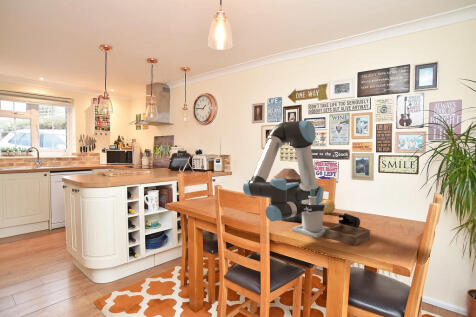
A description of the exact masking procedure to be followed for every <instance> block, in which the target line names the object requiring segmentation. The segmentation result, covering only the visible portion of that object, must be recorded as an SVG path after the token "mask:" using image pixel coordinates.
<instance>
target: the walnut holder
mask: <svg viewBox="0 0 476 317" xmlns="http://www.w3.org/2000/svg"><path fill="white" fill-rule="evenodd" d="M324 238H327V239H331V240H333V241H338V242H340V243H344V244H347V245H350V246H354V247H356V246H358V245H360V244H362V243H364V242H366V241H368V240H370V239H371V230H367V229H363V228H360V227H357V228H356V227H351V226H347V225H343V224H340V223H338V224H336V225H333V226H331V227H328V229H325V235H324Z"/></svg>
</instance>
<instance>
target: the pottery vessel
mask: <svg viewBox="0 0 476 317" xmlns="http://www.w3.org/2000/svg"><path fill="white" fill-rule="evenodd" d="M274 178H281V179H285V180H286V182H287V183H295V182H297V183H299V185H300V183H301V178H300V173H299V172H297V171H296V170H295V169H294V168H283V169H282V170H280V171H279V172H278V173H276V175H273V179H274Z"/></svg>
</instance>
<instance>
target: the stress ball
mask: <svg viewBox="0 0 476 317" xmlns="http://www.w3.org/2000/svg"><path fill="white" fill-rule="evenodd" d="M321 203H327V208H324V211H322V213H324V214H326V215H330V214H331V213H333V212H335V209H336V204H335V203H334V201H333V200H331V199H325V198H324V199H322V202H321Z"/></svg>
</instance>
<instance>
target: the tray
mask: <svg viewBox="0 0 476 317" xmlns="http://www.w3.org/2000/svg"><path fill="white" fill-rule="evenodd" d="M328 228H329V227H328V226H324V225H323V229H322V231H321V232H309V231H306V230H304V228H303V227H302V224H299V225H295V226H293V227H291V229H292V232H295V233H298V234H302V235H304V236H307V235H308V236H307V237H310V238H315V239H319V238H320V237H325V229H328Z"/></svg>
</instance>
